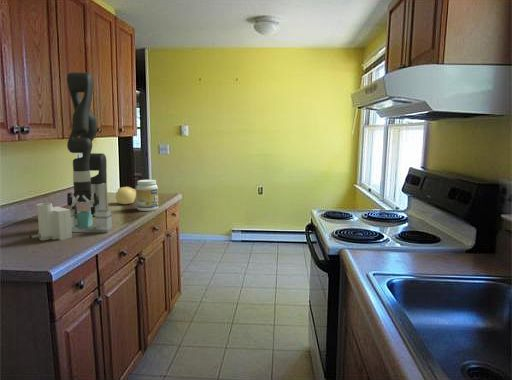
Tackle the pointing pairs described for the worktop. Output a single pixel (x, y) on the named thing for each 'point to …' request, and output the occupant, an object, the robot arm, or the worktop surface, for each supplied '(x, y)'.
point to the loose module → (84, 218)
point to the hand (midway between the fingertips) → (84, 214)
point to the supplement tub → (147, 195)
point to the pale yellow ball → (125, 195)
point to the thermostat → (53, 222)
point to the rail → (89, 229)
